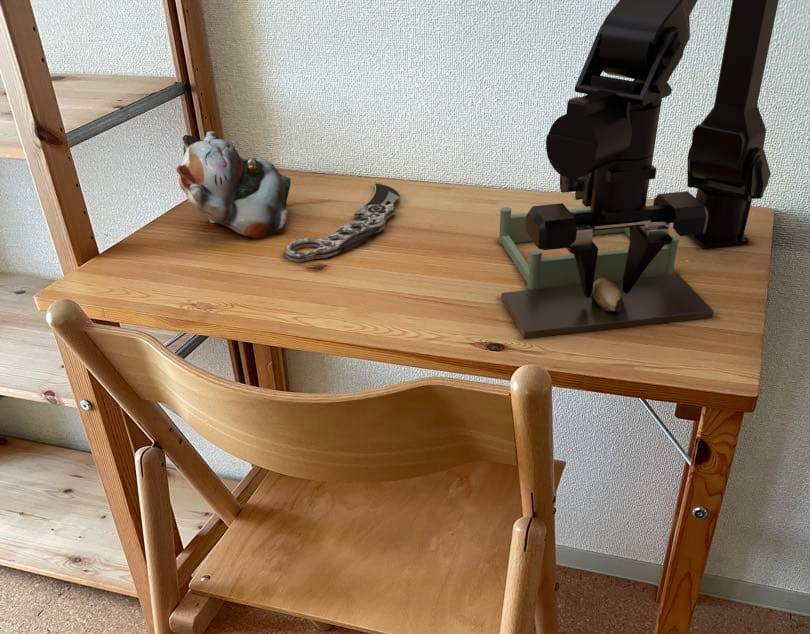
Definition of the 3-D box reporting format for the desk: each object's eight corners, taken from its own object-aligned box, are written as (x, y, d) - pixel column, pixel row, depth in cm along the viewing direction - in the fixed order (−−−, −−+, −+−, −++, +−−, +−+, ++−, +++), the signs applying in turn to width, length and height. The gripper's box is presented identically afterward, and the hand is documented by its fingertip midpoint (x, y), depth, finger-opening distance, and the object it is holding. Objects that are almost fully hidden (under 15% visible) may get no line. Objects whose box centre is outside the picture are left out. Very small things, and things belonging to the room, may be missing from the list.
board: (676, 280, 103) (678, 273, 103) (712, 317, 96) (714, 310, 95) (501, 298, 101) (501, 292, 101) (524, 338, 94) (524, 332, 93)
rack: (629, 228, 116) (634, 194, 113) (674, 275, 104) (681, 239, 101) (497, 241, 114) (499, 207, 111) (529, 290, 102) (531, 254, 99)
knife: (373, 178, 130) (432, 183, 126) (375, 189, 131) (432, 194, 127) (269, 250, 112) (333, 258, 108) (271, 261, 113) (335, 270, 109)
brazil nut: (618, 315, 95) (624, 287, 93) (576, 306, 97) (581, 279, 95) (633, 305, 100) (638, 279, 98) (593, 297, 102) (598, 271, 100)
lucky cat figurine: (282, 242, 115) (218, 157, 105) (214, 269, 121) (147, 190, 111) (302, 173, 123) (244, 88, 113) (237, 201, 129) (176, 122, 119)
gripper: (679, 121, 94) (656, 257, 104) (516, 135, 92) (509, 273, 102) (724, 153, 86) (694, 297, 96) (545, 169, 84) (534, 315, 94)
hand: (606, 294), depth 97 cm, fingers open, 4 cm apart
